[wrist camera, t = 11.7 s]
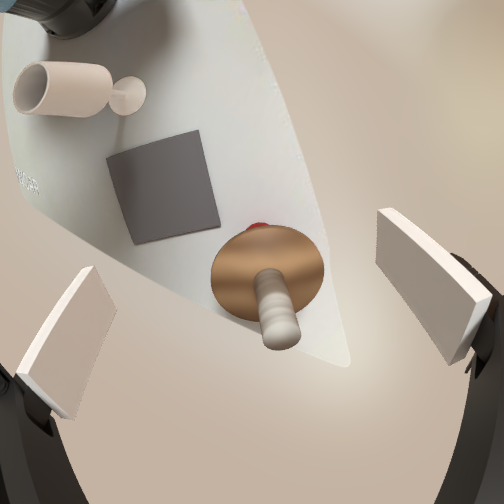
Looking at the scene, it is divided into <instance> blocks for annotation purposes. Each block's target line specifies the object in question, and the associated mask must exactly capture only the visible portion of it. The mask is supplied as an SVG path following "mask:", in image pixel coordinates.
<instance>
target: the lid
mask: <svg viewBox="0 0 504 504" xmlns="http://www.w3.org/2000/svg"><path fill="white" fill-rule="evenodd" d="M323 277H324V263H323V260H322V257H321V255H320V252H319V251H318V249H317V247H316V246H315V244H314V243H313V242H312V241H311V240H310V239H309V238H308V237H307V236H306V235H304V234H303V233H301V232H299V231H297V230H295V229H292V228H289V227H285V226H278V225H265V226H258V227H255V228H251V229H248V230H246V231H243V232H241V233H239V234H238V235H236V236H234V237H233V238H232V239H230V240H229V241H228V242H227V243H226V244H225V245H224V246H223V247H222V248H221V249H220V251H219V252H218V254H217V255H216V257H215V259H214V262H213V265H212V269H211V287H212V291H213V294H214V296H215V298H216V300H217V301H218V303H219V304H220V305H221V306H222V307H223V308H224V309H225V310H226V311H228V312H229V313H231V314H232V315H234V316H236V317H239V318H242V319H245V320H249V321H256V322H260V326H261V332H262V338H263V343H264V345H265V346H266V347H267V348H269V349H271V350H285V349H289V348H291V347H293V346H294V345H296V344H297V343H298V342H299V340H300V338H301V331H300V328H299V325H298V321H297V318H296V315H295V313H297V312H298V311H300V310H301V309H303V308H304V307H305V306H307V305H308V304H309V303H310V302H311V301H312V300H313V298H314V297H315V296H316V294H317V293H318V291H319V289H320V287H321V285H322V282H323Z"/></svg>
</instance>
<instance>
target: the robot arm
mask: <svg viewBox="0 0 504 504" xmlns="http://www.w3.org/2000/svg"><path fill="white" fill-rule="evenodd" d="M115 1H116V0H0V12H1V13H3V12H5V13H10V14H14V15H18V16H22V17H25V18H29V19H32V20H36V21H38V22H39V23H40V24H41V26H42V27H43V28H44V29H45V31H46V32H47V33H48V34H49V35H51V36H53V37H56V38H59V39H71V38H75V37H78V36H80V35H82V34H84V33H86V32H88V31H89V30H91V29H92V28H93V27H95V26H96V25H97V24H98V23H99V22H100V21H101V20H102V19H103V18H104V17H105V16H106V15H107V14H108V13H109V11H110V10H111V8H112V7H113V5H114V3H115ZM376 264H377V265H378V267H379V268H380V269H381V270H382V272H383V273H384V274H385V275H386V277H387V278H388V279H389V281H390V282H391V283H392V284H393V286H394V287H395V288H396V290H397V291H398V292H399V294H400V295H401V296H402V298H403V299H404V300H405V302H406V303H407V305H408V306H409V307H410V309H411V310H412V311H413V313H414V314H415V315H416V317H417V318H418V320H419V321H420V323H421V324H422V326H423V327H424V328H425V330H426V332H427V333H428V334H429V336H430V337H431V339H432V340H433V342H434V343H435V345H436V346H437V348H438V350H439V351H440V353H441V354H442V356H443V357H444V359H445V361H446V362H447V364H448V365H452V364H454V363H456V362H458V361H460V360H462V359H464V358H465V356H466V354H467V353H468V351H469V349H470V347H472V348H473V349H474V351H475V353H474V356H473V357H472V359H471V361H470V363H469V364H468V366H467V368H466V371H465V373H468V371H469V370H470V368H471V375H470V382H469V388H468V394H467V400H466V405H465V410H464V415H463V419H462V423H461V428H460V432H459V435H458V439H457V443H456V446H455V449H454V453H453V456H452V459H451V462H450V465H449V468H448V471H447V473H446V476H445V479H444V481H443V484H442V486H441V489H440V491H439V493H438V496H437V498H436V500H435V503H434V504H504V295H503V296H502V295H501V294H500V293H499V292H498V291H497V290H496V289H495V288H494V287H493V286H492V285H491V284H490V283H489V282H488V281H487V280H486V279H485V278H484V277H483V276H482V275H481V274H478V271H476V270H475V269H474V268H472V266H471V265H470V264H469V263H468V262H467V261H465V260H464V259H463V258H461V257H459V256H457V255H455V254H453V253H450V254H449V253H448V252H447V251H446V250H445V249H443V248H442V247H441V246H440V245H439V244H438V243H436V242H435V241H434V240H433V239H431V238H430V237H429V236H428V235H427V234H426V233H424V232H423V231H422V230H421V229H419V228H418V227H417V226H416V225H414V224H413V223H412V222H410V221H409V220H408V219H406V218H405V217H404V216H403V215H401V214H400V213H399V212H397V211H396V210H395V209H393V208H385V209H379V210H377V247H376ZM116 312H117V309H116V307H115V306H114V304H113V302H112V300H111V298H110V296H109V294H108V292H107V291H106V288H105V287H104V285H103V283H102V281H101V279H100V277H99V275H98V272H97V270H96V268H95V266H89V267H85V268H82V269H81V271H80V272H79V273H78V275H77V276H76V277H75V279H74V280H73V281H72V283H71V284H70V286H69V287H68V288H67V290H66V291H65V293H64V294H63V295H62V297H61V298H60V300H59V301H58V303H57V304H56V306H55V307H54V309H53V310H52V312H51V313H50V315H49V316H48V318H47V319H46V321H45V322H44V324H43V326H42V327H41V329H40V331H39V332H38V334H37V335H36V337H35V339H34V340H33V342H32V344H31V346H30V347H29V349H28V351H27V352H26V354H25V356H24V358H23V360H22V362H21V363H20V365H19V367H18V369H17V371H16V374H15V376H14V378H12V376H11V375H10V374H9V373H8V372H7V371H6V370H5V369H4V367H3V366H2V365H1V364H0V504H89V503H88V501H87V499H86V497H85V495H84V493H83V491H82V489H81V487H80V485H79V483H78V480H77V478H76V476H75V474H74V471H73V469H72V467H71V464H70V462H69V459H68V457H67V454H66V452H65V449H64V446H63V444H62V440H61V437H60V435H59V431H58V428H57V425H56V422H55V420H54V418H53V417H52V416H51V415H50V413H51V410H53V411H54V412H55V413H56V414H57V415H59V416H60V417H61V418H64V419H70V420H75V417H76V414H77V411H78V408H79V405H80V402H81V399H82V396H83V393H84V390H85V387H86V385H87V382H88V379H89V377H90V374H91V371H92V368H93V366H94V363H95V361H96V358H97V356H98V353H99V351H100V348H101V346H102V344H103V341H104V338H105V337H106V334H107V332H108V329H109V327H110V325H111V323H112V321H113V318H114V316H115V314H116Z"/></svg>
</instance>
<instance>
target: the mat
mask: <svg viewBox="0 0 504 504" xmlns="http://www.w3.org/2000/svg"><path fill="white" fill-rule="evenodd" d="M106 160H107V164H108V167H109V171H110V174H111V178H112V181H113V184H114V188H115V191H116V194H117V197H118V200H119V203H120V206H121V209H122V212H123V215H124V218H125V221H126V224H127V227H128V230H129V232H130V235H131V238H132V240H133V243H134V244H139V243H143V242H147V241H152V240H156V239H160V238H165V237H169V236H174V235H178V234H183V233H188V232H192V231H197V230H202V229H206V228H211V227H216V226H221V223H220V219H219V215H218V211H217V207H216V203H215V199H214V195H213V190H212V186H211V182H210V178H209V174H208V169H207V165H206V161H205V157H204V152H203V148H202V144H201V139H200V135H199V130H195V131H191V132H188V133H184V134H180V135H176V136H173V137H169V138H166V139H162V140H159V141H156V142H152V143H149V144H146V145H143V146H140V147H137V148H134V149H131V150H128V151H125V152H122V153H119V154H117V155H114V156H111V157H109V158H106Z"/></svg>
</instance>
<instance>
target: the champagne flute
mask: <svg viewBox="0 0 504 504" xmlns="http://www.w3.org/2000/svg"><path fill="white" fill-rule="evenodd" d="M145 98H146V88H145V85H144V83H143V82H142V81H141V80H140V79H138V78H136V77H132V76H129V77H124V78H122V79H120V80H118V81H117V82H116V83H115V84H114V85H113V81H112V77H111V74H110V73H109V71H108V70H107V69H106V68H105V67H103V66H101V65H98V64H88V63H75V62H52V61H38V62H33V63H31V64H29V65H28V66H27V67H25V68H24V69H23V71H22V72H21V73H20V75H19V76H18V78H17V81H16V83H15V86H14V91H13V101H14V105H15V107H16V109H17V110H18V111H19V112H20V113H22V114H39V115H56V116H69V117H80V118H86V117H90V116H93V115H95V114H97V113H98V112H100V111H101V110H102V109H103V108H104V107H105V105H106V104H107V103H108V101H109V105H110V107H111V109H112V110H113V111H114V112H115V113H116V114H119V115H123V116H125V115H130V114H133V113H135V112H136V111H137V110H139V109H140V107H141V106H142V105H143V103H144V101H145Z"/></svg>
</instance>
